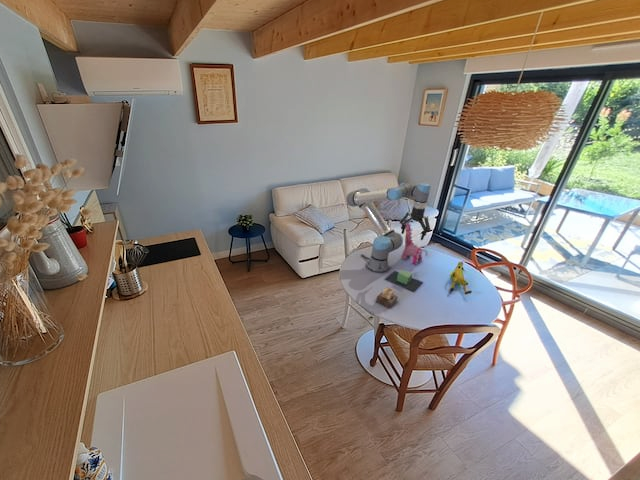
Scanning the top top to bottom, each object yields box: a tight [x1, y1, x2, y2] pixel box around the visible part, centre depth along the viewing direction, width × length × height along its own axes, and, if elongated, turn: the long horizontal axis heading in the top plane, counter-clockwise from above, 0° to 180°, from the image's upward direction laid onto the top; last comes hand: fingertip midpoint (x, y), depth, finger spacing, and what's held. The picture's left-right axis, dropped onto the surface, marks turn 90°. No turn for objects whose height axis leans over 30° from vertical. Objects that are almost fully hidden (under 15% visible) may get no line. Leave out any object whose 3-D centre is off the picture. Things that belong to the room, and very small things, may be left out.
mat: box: [384, 270, 423, 292], centre depth 196 cm, size 20×14×1 cm
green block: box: [397, 269, 414, 285], centre depth 195 cm, size 7×7×6 cm
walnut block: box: [375, 291, 398, 309], centre depth 177 cm, size 9×9×4 cm
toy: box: [400, 220, 429, 265], centre depth 215 cm, size 9×26×30 cm, turn 34°
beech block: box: [381, 286, 395, 300], centre depth 174 cm, size 5×5×4 cm
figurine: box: [449, 261, 472, 295], centre depth 192 cm, size 11×11×30 cm
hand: (412, 236), depth 197 cm, fingers open, 13 cm apart
